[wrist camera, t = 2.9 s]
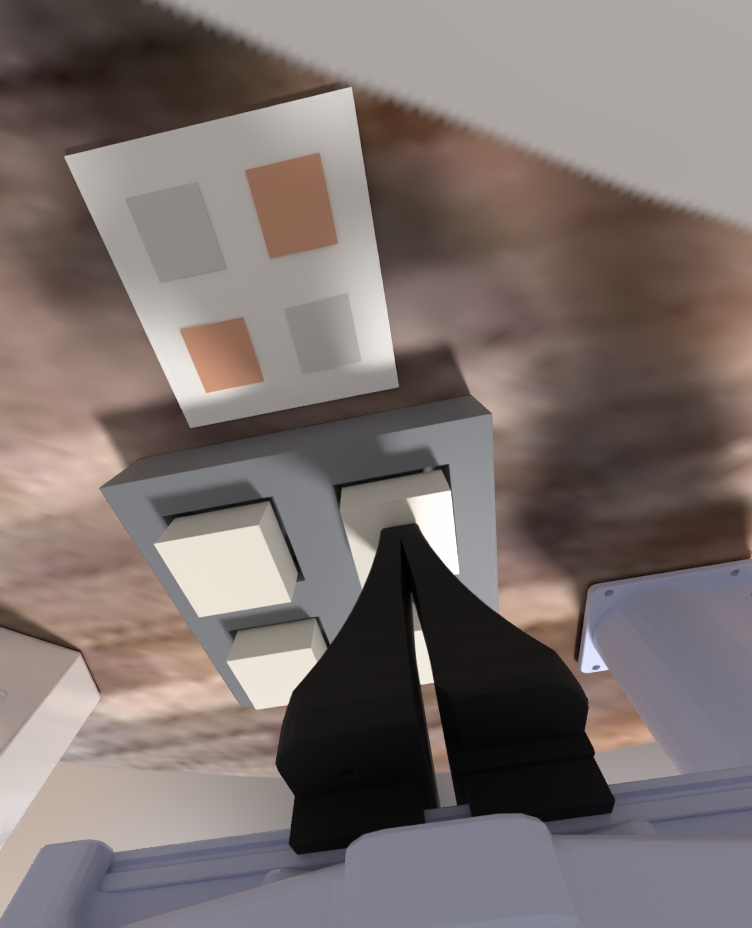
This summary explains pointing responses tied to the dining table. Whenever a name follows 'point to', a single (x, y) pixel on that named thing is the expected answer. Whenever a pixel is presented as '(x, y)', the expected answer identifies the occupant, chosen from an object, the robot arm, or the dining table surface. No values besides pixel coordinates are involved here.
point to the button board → (316, 506)
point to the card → (249, 256)
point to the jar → (36, 716)
